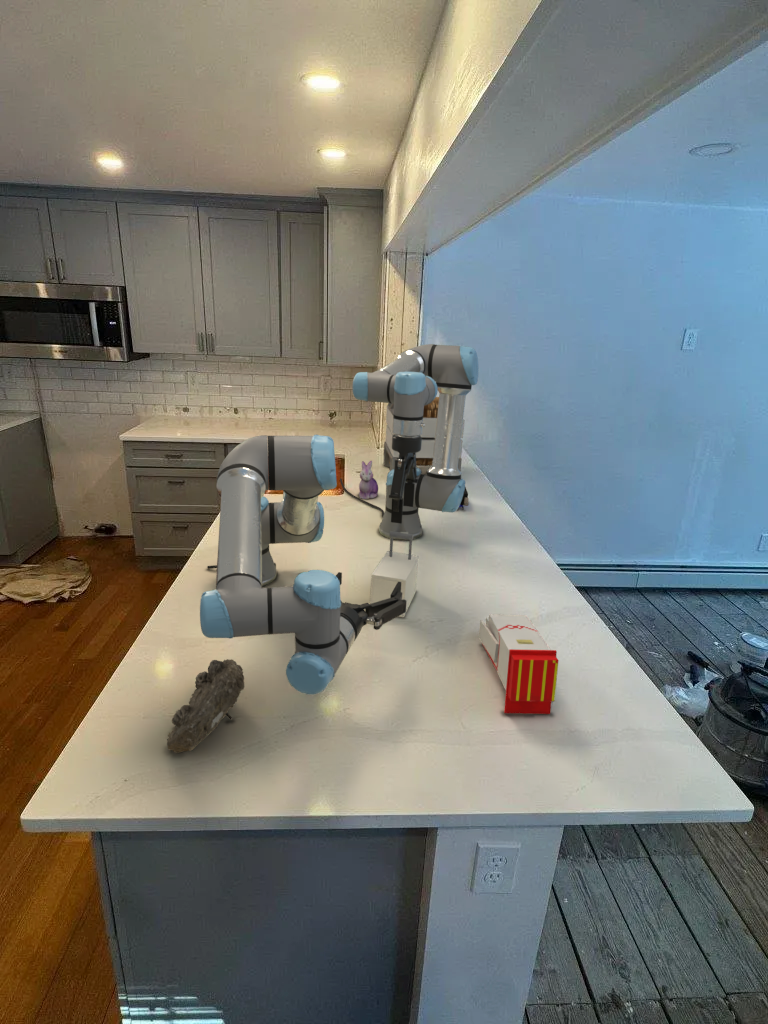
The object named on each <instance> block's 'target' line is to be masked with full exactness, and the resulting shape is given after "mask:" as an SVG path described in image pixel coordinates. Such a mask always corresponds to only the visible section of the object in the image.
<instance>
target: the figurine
mask: <svg viewBox="0 0 768 1024" xmlns="http://www.w3.org/2000/svg"><path fill="white" fill-rule="evenodd" d="M372 466H373V460H369V461H368V463H367V464H366V462H365V461H364V460H362V461H361V471H360V472H359V478H360V482H359V484H358V490H359V492H358V497H359V498H360V499H362V500H369V499H374V498H377V497H378V493H379V485H378V481H377V480H376V478H374V473H373V471H372Z"/></svg>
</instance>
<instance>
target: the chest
mask: <svg viewBox="0 0 768 1024" xmlns="http://www.w3.org/2000/svg"><path fill="white" fill-rule="evenodd" d="M418 566H419V559H418V560H417V562H416V564H415V566H414V568H413V570H412V572H411V574H410V576H409V578H408V579H407V581H406V583H404V582H401V592H402V600H403V599H404V600H406V601H407V602H406V612H405V613H403V614H401V615H400V616H398V617H399V618H404V617H405V616H406V614H407V611H408V609H409V607H410V605H411V603H412V601H413V599H414V596H415V594H416V592H417V581H418V580H417V579H418ZM397 583H398V581H392V580H386V579H380V578H373V577H371V576H370V596H369V597H370V598H369V599H370V600H369V601H370V602H369V604H372V603H375V602H378V601H382V600H385V599H389V598H390V595H391V593H392V591H393V590H394V588H395V586H396V584H397Z"/></svg>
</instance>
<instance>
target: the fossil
mask: <svg viewBox="0 0 768 1024" xmlns="http://www.w3.org/2000/svg"><path fill="white" fill-rule="evenodd" d="M243 670H244V669H243V667H242V665H240V664H237V662H236V661H235V660H234V659H232V658H231V659H227V658H226V659H224V660H223V661H222V660H217V659H212V660H211V661H210V663H209V665H208V666H207V671H201V672H199V673H198V674H197V675H196V676H195V680H194V684H195V685H194V687H195V689H194V690H193V693H192V694H191V697H190V698H189V700H188V704H184V705H182V706H181V707H180V709H177V710H176V711H175V713H174V715H173V716H172V718H171V723H172V724H173V727H172V730H171V731H170V732H168V734H167V738H166V741H167V742H166V745H167V749H168V750H169V751H173V752H174V753H176V754H178V753H182V752H188V751H189V752H192V751H193V750H195V748H196V747H197V746H199V744H200V743H201V742H203V741H204V740H205V739H206V738H207V737H208V736H209V735H210V734H211V733H212V732H214V730H215V729H217V727H218V726H219V724H220V722H221V721H222V720H223V719H224V718H225V716H226V717H227V719H229V720H233V717H232V715H230V714H229V710H230V709H231V708H234V706H235V704H236V703H237V702H238V699H239V697H240V695H241V693H242V691H243V690H245V689H244V688H245V675H244V671H243Z"/></svg>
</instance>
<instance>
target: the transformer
mask: <svg viewBox="0 0 768 1024" xmlns="http://www.w3.org/2000/svg"><path fill="white" fill-rule="evenodd" d="M438 403H439V396H436V397H435V399H434V400H433V401H432V402H431V403H430V404H428V405H425V406H424V411H423V421H422V423H424V424H425V427H422V434H421V435H420V436H421V438H422V443H421V450H420V451H419V452H417V453H416V467H417V466H418V467H431V466H432V461H433V451H434V442H435V432H436V422H437V413H438ZM385 414H386V415H385V423H386V428H385V438H384V442H383V466H384V467H388V468H389V472H390V471H391V470H393V469H394V468H395V459H397V458H399V452H397V451H394V450H393V449H392V436H393V435H394V434H393V433H392V428H393V414H394V404H393V403H387V405H386V413H385ZM464 429H465V419H464V418H463V424H462V433H461V442H460V451H459V459H458V470H459V471H460V472H461V473H462V461H463V460H462V453H463V442H464V441H463V440H462V439H463V438H464V431H465V430H464Z"/></svg>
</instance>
